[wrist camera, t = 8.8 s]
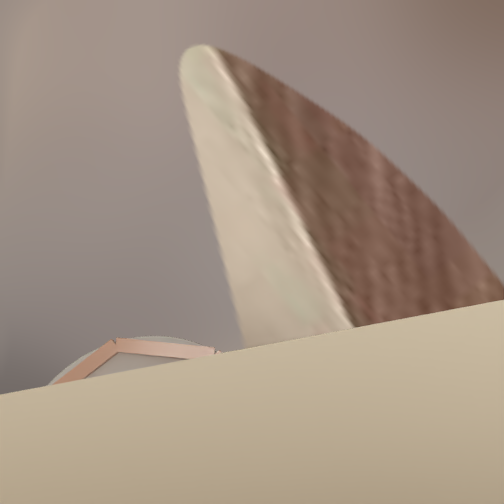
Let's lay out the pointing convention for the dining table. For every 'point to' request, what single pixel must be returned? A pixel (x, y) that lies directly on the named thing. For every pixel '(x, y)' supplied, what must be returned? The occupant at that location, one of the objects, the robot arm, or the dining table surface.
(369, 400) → the wooden block
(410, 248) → the dining table surface
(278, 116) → the dining table surface
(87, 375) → the ring stand
